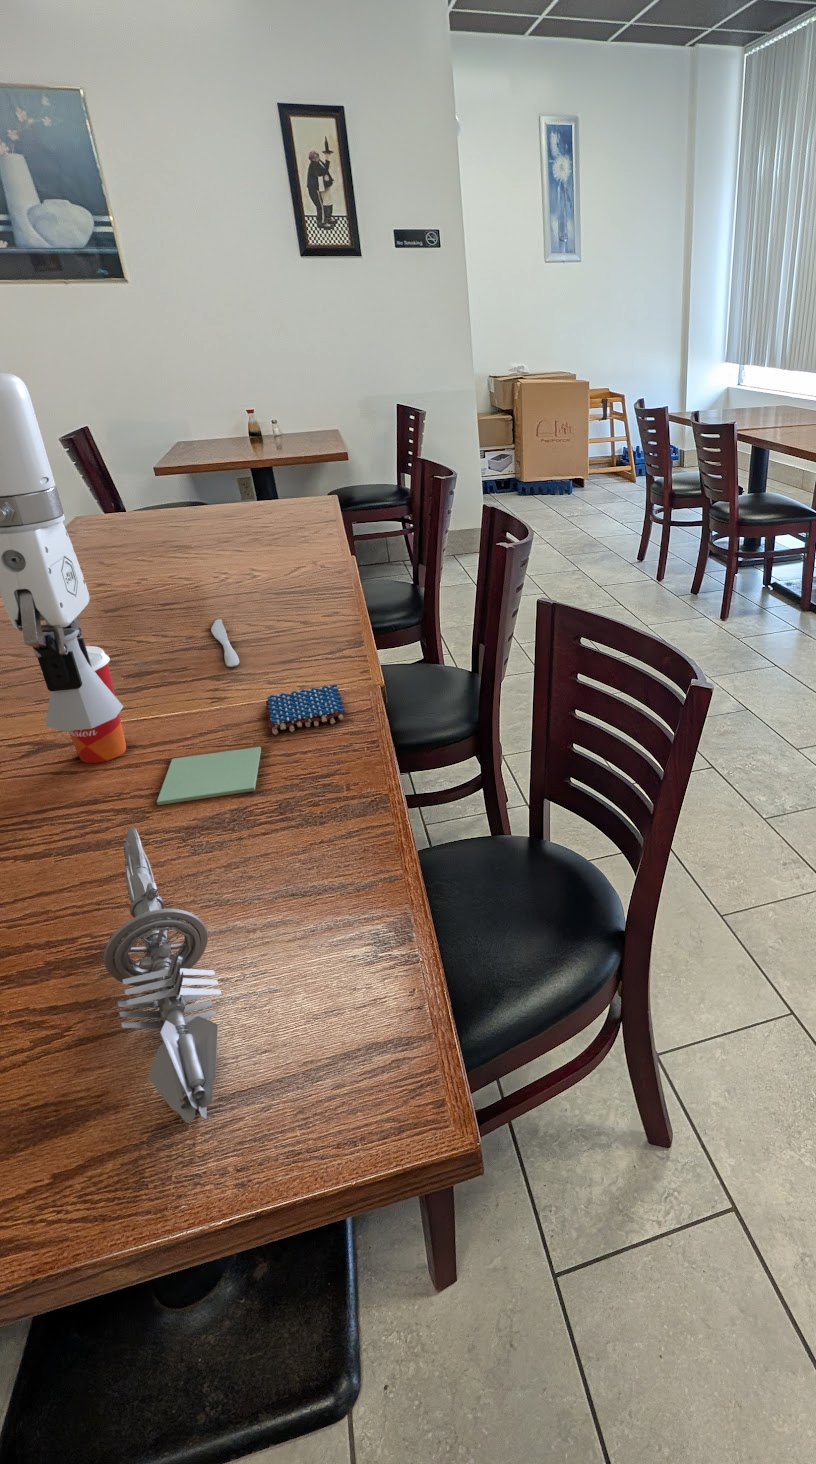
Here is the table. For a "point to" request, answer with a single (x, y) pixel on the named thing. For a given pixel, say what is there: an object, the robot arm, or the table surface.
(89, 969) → the table surface
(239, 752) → the coaster
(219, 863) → the table surface
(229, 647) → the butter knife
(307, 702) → the woven mat
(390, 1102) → the table surface
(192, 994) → the spaceship
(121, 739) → the paper cup
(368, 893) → the table surface
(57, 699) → the flask
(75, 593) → the robot arm
